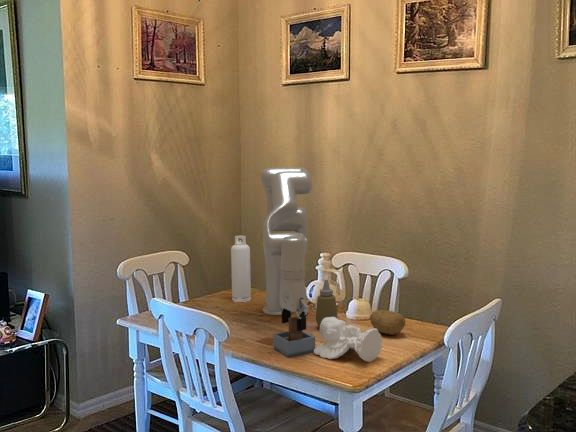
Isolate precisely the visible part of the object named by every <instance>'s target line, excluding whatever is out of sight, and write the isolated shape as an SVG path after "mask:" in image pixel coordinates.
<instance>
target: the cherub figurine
mask: <svg viewBox="0 0 576 432" xmlns="http://www.w3.org/2000/svg"><path fill="white" fill-rule="evenodd" d="M318 329H319V328H318ZM319 334H320V337H321V338H322V339H323V340H324V341H325V342H324V343H323V344H320V345H319V346H317V347H315V349H314V352H313V354H315V355H316V356H319V357H321V358H323V359H328V360H333V359H338V358H340V357H341V356H344V354H345V353H347V352H348V351H352V350H353V351H355V353H357V354H358V357H359V358H360V359H362V360H363V361H364V362H368V363H371V362H372V361H376V360H377V359H378V357H379V355H380V354H381V351H382V348H383V346H382V343H383V337H382V335H381V332H379V331H378V329H375V328H374V327H373V328H370V329H367V330H366V331H364V332H362V331H361V328H360V327H357V326H354V325H350V324H349V325H347V322H346V321H344V320H342V319H339V318H338V317H337V318H336V317H326V318H324V319H323V320H322V321H321V324H320V329H319Z"/></svg>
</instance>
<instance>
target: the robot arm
mask: <svg viewBox="0 0 576 432" xmlns="http://www.w3.org/2000/svg"><path fill="white" fill-rule="evenodd" d="M312 180H313V179H312V176H311V174H310V172H309V171H308V170H307V169H306V168H305V167H302V166H299V167H297V166H296V167H295V166H294V167H293V166H292V167H287V166H286V167H285V166H284V167H279V166H278V167H266V168H264V169H263V170H261V173H260V182H261V185H262V187H263V190H264V192H265V196H266V218H265V219H264V220H265V221H264V223H263V226H262V236H263V242H262V243H263V245H262V246H263V252H264V253H263V254H264V257H265V258H264V259H265V260H264V261H265V281H266V282H265V284H266V286H265V287H266V289H265V290H266V291H265V293H266V298H265V300H264V302H265V303H266V306H264V307H263V308H262V312H263V313H264V314H266V315H268V316H269V315H270V316H281V324H289V319H288V318H290V317H292V316H291V315H292V314H293V313H295V314H296V316H297V317H298V319H297V331H306V330H307V319H308V315H309V310H310V306H309V305H308V304H307V290H306V289H307V288H306V283H305V282H306V281H305V279H306V267H305V259H306V258H305V257H306V256H305V255H306V254H307V251H308V236H309V235H308V233H309V231H308V230H309V229H308V228H309V227H308V226H309V225H308V224H309V223H308V213H307V211H306V209H305V208H304V207H302V206H301V207H300V206H299V204H298V197H297V196H298V195H309V194H310V193H311V191H312V189H313V181H312ZM300 312H301V313H300Z"/></svg>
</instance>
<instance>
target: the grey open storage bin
mask: <svg viewBox="0 0 576 432" xmlns="http://www.w3.org/2000/svg"><path fill="white" fill-rule="evenodd" d="M272 338H273V339H272V343H273V344H272V346H273V347H272V348H273V350H275V351H276V352H278V353H280V354H281V355H282V356H285V357H286V358H288V359H289V358H294V357H298V356H299V357H300V356H303V355H308V354H312V353H313V354H314V349H315V348H316V337H315V336H314V335H312V334H310V333H308V332H305V330H302V339H298V340H293V341H289V330H288V331H287V330H286V331H282V332H281V331H280V332H277V333H273V335H272Z"/></svg>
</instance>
